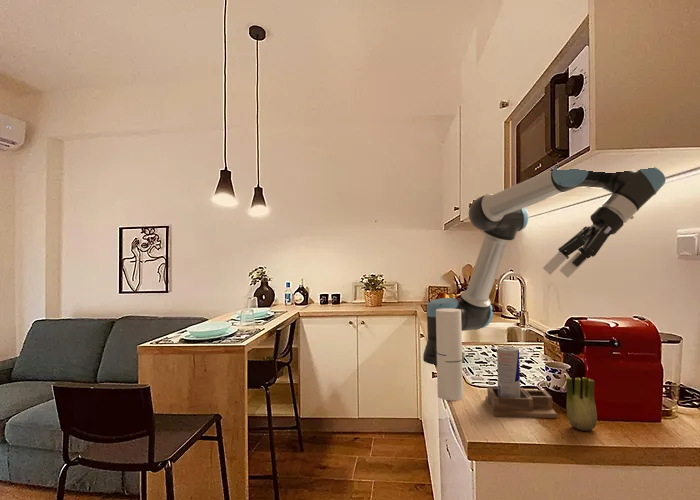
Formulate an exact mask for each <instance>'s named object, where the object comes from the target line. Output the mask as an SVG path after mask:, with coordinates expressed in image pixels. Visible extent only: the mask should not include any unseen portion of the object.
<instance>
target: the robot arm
mask: <svg viewBox="0 0 700 500" xmlns="http://www.w3.org/2000/svg"><path fill="white" fill-rule="evenodd" d="M556 163H558V161H557V162H556ZM552 169H553V171H550V170H551V169H548V170H546V171H544V172H542V173H539V174H538V175H535V176H533V177H531V178H527V179H526V180H524V181H521V182H518V183H517V184H514V185H512V186H510V187H508V188H506V189H503V190H501V191H499V192H497V193H493V192H491V193H486V194H484V195H482V196H480V197H478V198H476V199H475V200H474V201H473V202H472V203H471V204H470V207H469V209H468V218H469V221H470V223H471V224H472V225H473V226H474V227H475V228H476V229H478V230H480V231H482V232H483V234H484V238H483V240H482V243H481V246H480V249H479V253H478V256H477V258H476V261H475V264H474V268H473V270H472V272H471V276H470V279H469V282H468V286H467V287H466V290H464V291H461V293H460V297H459V300H458V299H457V298H455V297H444V298H443V297H442V298H437V299H433V300H430V301H429V302H428V303H427V305H426V306H427V307H426V322H427V323H426V328H427V329H426V330H427V331H426V332H427V340H426V345H425V348H424V351H423V353H422V355H423V357H422V358H423V362H425V363H426V364H430V365H436V366H437V340H436V309H444V308H452V309H460V310H461V330H462V332H464V331H472V330H474V331H477V330H480V329H484V328H486V327H488V326H489V324H490V323H491V322H492V321H493V317H494V312H493V305H492V301H491V299H490V295H491V291H492V290H493V287H494V284H495V280H496V278H497V275H498V272H499V269H500V267H501V265H502V262H503V259H504V256H505V253H506V250H507V249H508V244H509V243H510V242H512V241H514V240H515V239H516V237H517V232H521V231H522V230H524V229H525V228H526V226H527V225H528V223H529V219H530V218H529V211H528V209H527V207H529V206H530V207H531V206H533V205H535V204H538V203H541V202H542V201H543V202H544V201H545V200H548V199H551V198H553V197H556V196H558V195H562V194H565V193H567V192H570V191H572V190H575V189H578V188H587V189H599V190H600V189H601V190H603V191H606V192H609V193H611V194H610V196H608V197H607V198H606V199H605V201H604V202H603V203H601V206H599V207H598V208H597V209H596V210H595V211H594V212H593V213H592V214H591V215H590V217H589V218H590V221H591V222H592V224H591V225H589V226H583V228H581V230H580V231H579V232H578V233H576V234H575V235H574V236H572V237H571V238H570V239H569V240H568V241H567V242H565V243H564V244H562V245H561V246H560V247H559V248H557V249H558V252H557V253H556V254H555V255H554V256H553V257H552V258H551V259H550V260H549V261H548V262H547V263H546V264H545V265H544V266H543V267H542V269H543V270H544V271H545V272H547V274H548V275H552V274H553V273H554V272H555V271H556V270H557V269H558V268H559V267H560V266H561V265H562V264H563V263H564V262H565V261H566V260H568V261H566V263H565V264H564V265H562V267H561V268H560V269H559V271H560V273H561V274H563V275H564V276H565V277H566V278H568V279H569V277H570V276H572V275H573V274H574V273H575V271H577V270H578V269H579V268H580V267H581V266H582V265H583V264H584V263H585V262H586V261H587V260H588V259H590V258H594V257H595V256H597V254H598V253H599V251H600V249H601V248H602V247H603V245H604V244H605V242H606V241H607V240H608V238H609V237H610V236H611V235H612V236H613V235H615V234H616V233H617V232H619V231H620V229H621V228H623V226H624V224H626V223H627V222H629V220H633V219H634V218H635V216H634V215H635V214H636V213H637V212H638V211H639V210H640V209H641V208H642V207H643V206H645V205H646V203H648V201H650V199H652V198H653V197H654V196H656V194H657V193H658V192H659V191H660V190H661V188H662V187H663V186H664V185H665V183H666V180H667V179H666V175H664V173H663V172H662V171H661V169H659V168H657V167H655V166H654V168H648V169H640V170H637V171H624V172H616V173H605V172H593V171H586V170H579V169H569V170H557V166H556V164H555V165H554V166H553V168H552ZM576 251H577V252H576ZM574 252H576V253H574ZM573 253H574V255H573V256H572V257H569V256H570V255H572V254H573ZM569 258H570V259H569ZM464 362H465V355H464V352H463V351H462V364H463V363H464Z"/></svg>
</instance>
